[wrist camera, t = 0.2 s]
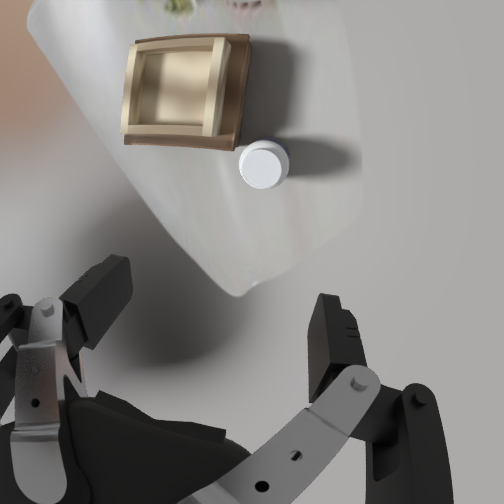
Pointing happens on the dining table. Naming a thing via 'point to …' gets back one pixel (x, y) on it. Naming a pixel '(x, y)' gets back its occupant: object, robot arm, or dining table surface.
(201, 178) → the dining table surface
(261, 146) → the pill bottle
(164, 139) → the box
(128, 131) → the top crate
